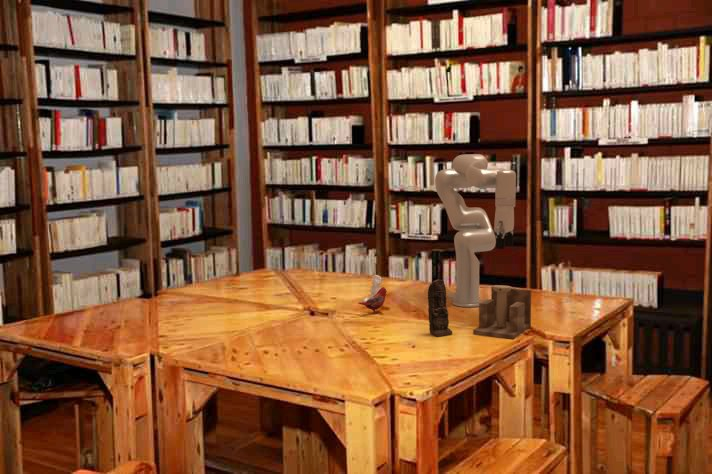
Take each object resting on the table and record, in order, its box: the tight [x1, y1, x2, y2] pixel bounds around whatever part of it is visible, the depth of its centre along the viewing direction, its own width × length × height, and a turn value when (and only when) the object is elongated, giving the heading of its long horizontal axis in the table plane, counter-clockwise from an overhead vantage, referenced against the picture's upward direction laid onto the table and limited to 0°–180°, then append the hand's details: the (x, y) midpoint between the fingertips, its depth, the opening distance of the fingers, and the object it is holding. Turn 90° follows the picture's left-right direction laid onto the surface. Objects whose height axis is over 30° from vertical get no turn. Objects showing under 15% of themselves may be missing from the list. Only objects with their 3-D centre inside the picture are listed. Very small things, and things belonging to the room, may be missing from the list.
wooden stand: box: [472, 286, 532, 340], centre depth 295 cm, size 15×20×14 cm
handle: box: [492, 284, 512, 328], centre depth 294 cm, size 5×6×15 cm
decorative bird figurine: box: [357, 286, 388, 315], centre depth 323 cm, size 3×18×10 cm, turn 137°
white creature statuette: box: [361, 274, 385, 302], centre depth 343 cm, size 10×9×12 cm
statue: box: [427, 279, 453, 337], centre depth 291 cm, size 7×7×20 cm
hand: (504, 247), depth 310 cm, fingers open, 9 cm apart
